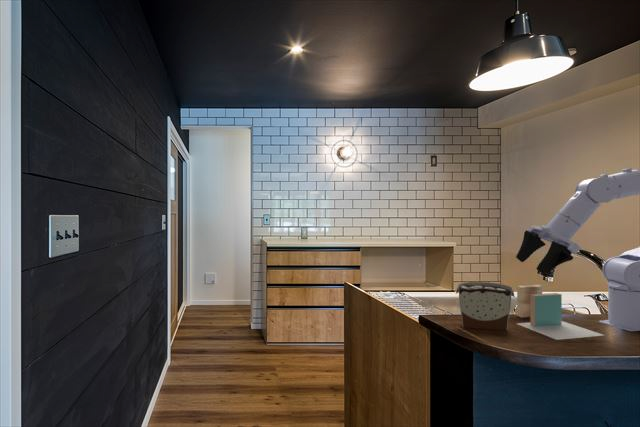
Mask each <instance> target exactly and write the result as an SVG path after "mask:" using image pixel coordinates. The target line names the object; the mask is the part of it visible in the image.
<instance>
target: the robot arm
mask: <svg viewBox="0 0 640 427" xmlns="http://www.w3.org/2000/svg"><path fill="white" fill-rule="evenodd" d="M638 195H640V170H639V169H632V167H631V168H630V167H628V168H624V169H622V170H621V172H618V173H612V174H607V173H604V174H600V176H599V177H596V178H587V179H584V180H582V181H581V182H580V183H577V184H576V186H575V188H574V194H573V195H572V196H571V197H570V198H569V199H568V201H567V202H566V203H565V204H564V205H563V206H562V208H560V210H559V211H558V212H557V213H556V214H555V216H553V218H552V219H551V220H550V221H549V222H548V223H547V224H546V226H545V225H541V226H537V225H531V227H530V228H528V230H527V229H526V230H524V232H523V238H522V242H521V245H520V248H519V250H518V251H517V254H516V256H515V258H516V260H517V259H518V261H519V262H521V263H524V262H525V261H527V259H529V258H530V257H531V255H533V254H534V253H535V252H536V251H537V250H539V249H541V248H542V247H544V246H546V242H548V243H551V244H550V246H549V249H548V251H547V253H546V254H545V255H544V257H543V258H542V260H541V261H540V262H539V263H538V265H537V267H536V268H535V269H536V270H537V272H539V273H540V274H541V275H545V274H547V273H548V272H549V271H551V270H553V269H554V268H556V267H558V266H560V265H562V264H564V263H567V262H570V261H573V259H574V256H572V254H573V255H577V253H579V251H580V250H581V249H582V247H581V246H580V245H579V244H578V243H576V242H574V241H573V240H571V239H572V238H573V237H574V236H575V234H576V233H577V232H578V231H579V230H581V228H582V227H583V226H584V224H586V222H588V220H589V219H590V217H592V215H593V214H595V213H594V212H596V210H598V208H599V207H600V206H601V204H602V203H610V202H611V201H612V200H613V201H614V200H618V199H623V198H627V197H628V198H629V197H632V196H638ZM544 241H546V242H544ZM601 269H602V274H603V276H604V278H605V279H606V280H608V283H607V284H608V285H607V286H608V287H607V291H608V293H607V294H608V296H607V297H608V298H607V299H608V303H607V305H608V307H607V308H608V309H607V311H608V312H607V313H608V315H607V316H608V319H605V320H604V319H603V320H599V321H598V322H599V323H602V324H605V325H609V326H611V327H615V328H619V329H621V330H626V331H628V332H638V331H640V246H638V247H636V248H633V249H629V250H627V251H624V252H622V254H620V255H618V256H612V257H609V258H608V259H606V261H604V263H603V265H602V268H601Z"/></svg>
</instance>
